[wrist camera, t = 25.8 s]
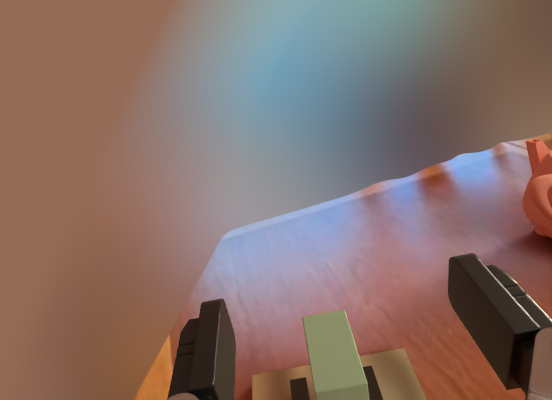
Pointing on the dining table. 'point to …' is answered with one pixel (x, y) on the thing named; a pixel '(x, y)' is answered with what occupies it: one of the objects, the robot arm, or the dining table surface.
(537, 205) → the teapot
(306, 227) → the dining table surface
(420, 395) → the seat base
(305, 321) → the green rectangular block
